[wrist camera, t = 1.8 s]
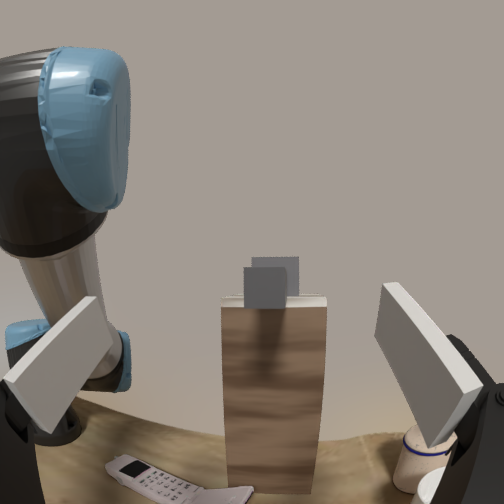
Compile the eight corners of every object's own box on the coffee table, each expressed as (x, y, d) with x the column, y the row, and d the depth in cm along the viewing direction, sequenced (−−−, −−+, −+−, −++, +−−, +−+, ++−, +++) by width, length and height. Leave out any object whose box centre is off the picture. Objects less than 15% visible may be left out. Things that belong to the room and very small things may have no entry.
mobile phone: (238, 513, 19) (88, 444, 27) (239, 536, 18) (97, 470, 27) (256, 485, 24) (114, 433, 33) (256, 510, 24) (120, 458, 32)
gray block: (305, 308, 19) (305, 238, 20) (223, 308, 20) (223, 240, 20) (297, 293, 40) (297, 260, 40) (257, 294, 41) (257, 260, 41)
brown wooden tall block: (310, 493, 26) (326, 297, 30) (228, 490, 28) (221, 298, 31) (308, 458, 36) (317, 293, 39) (240, 456, 38) (237, 294, 41)
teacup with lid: (451, 483, 19) (476, 423, 20) (401, 502, 19) (424, 443, 21) (423, 450, 31) (437, 396, 32) (378, 461, 31) (391, 407, 33)
